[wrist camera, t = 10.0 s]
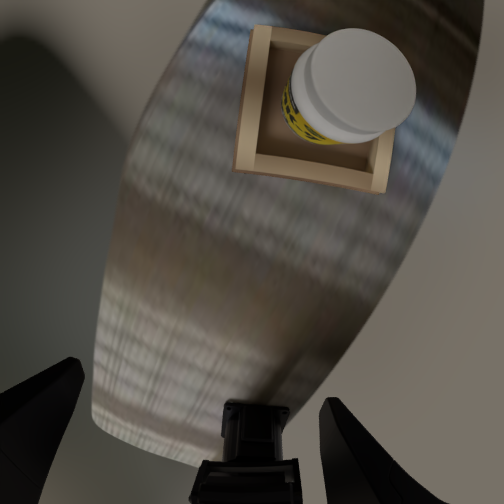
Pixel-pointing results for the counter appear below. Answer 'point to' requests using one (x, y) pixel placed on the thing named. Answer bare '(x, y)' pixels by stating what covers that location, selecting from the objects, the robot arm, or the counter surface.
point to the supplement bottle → (348, 89)
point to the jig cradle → (282, 137)
